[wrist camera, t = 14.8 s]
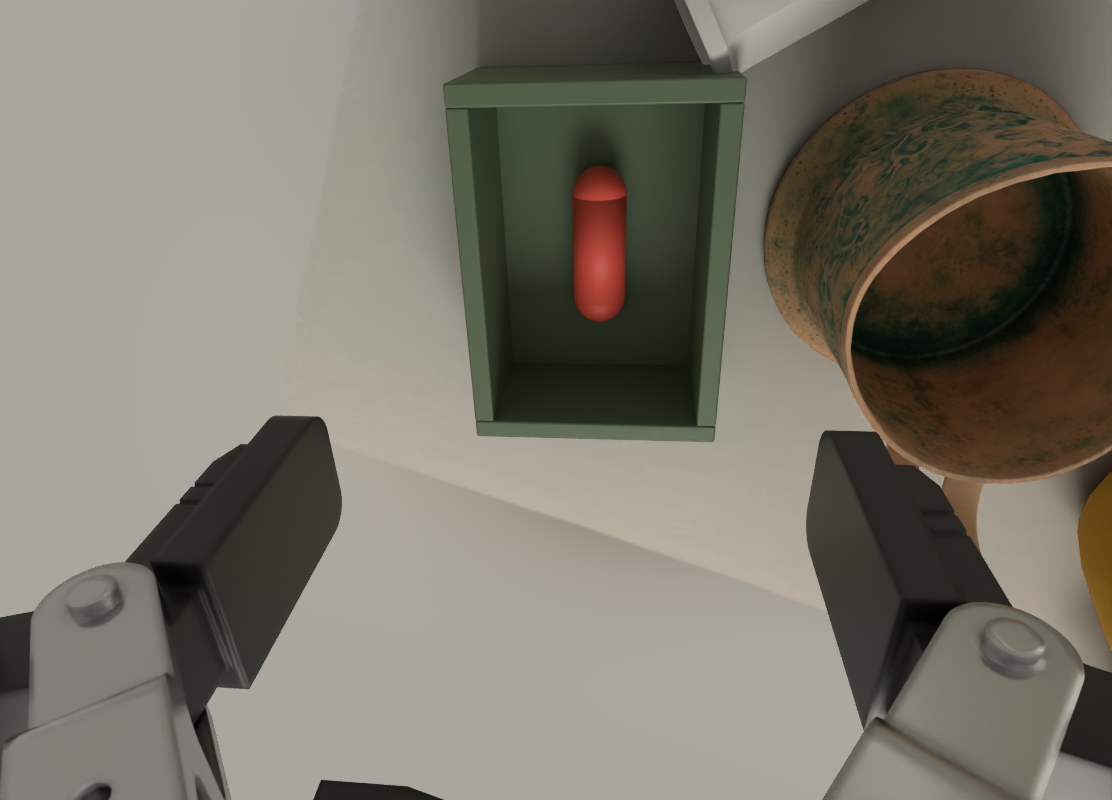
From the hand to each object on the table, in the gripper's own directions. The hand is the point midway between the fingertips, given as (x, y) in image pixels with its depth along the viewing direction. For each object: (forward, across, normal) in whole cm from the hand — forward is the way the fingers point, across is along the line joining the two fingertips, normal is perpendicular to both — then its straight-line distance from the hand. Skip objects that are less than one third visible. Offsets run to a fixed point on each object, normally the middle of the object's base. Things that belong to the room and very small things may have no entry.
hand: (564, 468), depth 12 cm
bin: (+19, 0, +2) cm, 19 cm away
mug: (+19, -12, +5) cm, 23 cm away
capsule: (+18, 0, +2) cm, 18 cm away
